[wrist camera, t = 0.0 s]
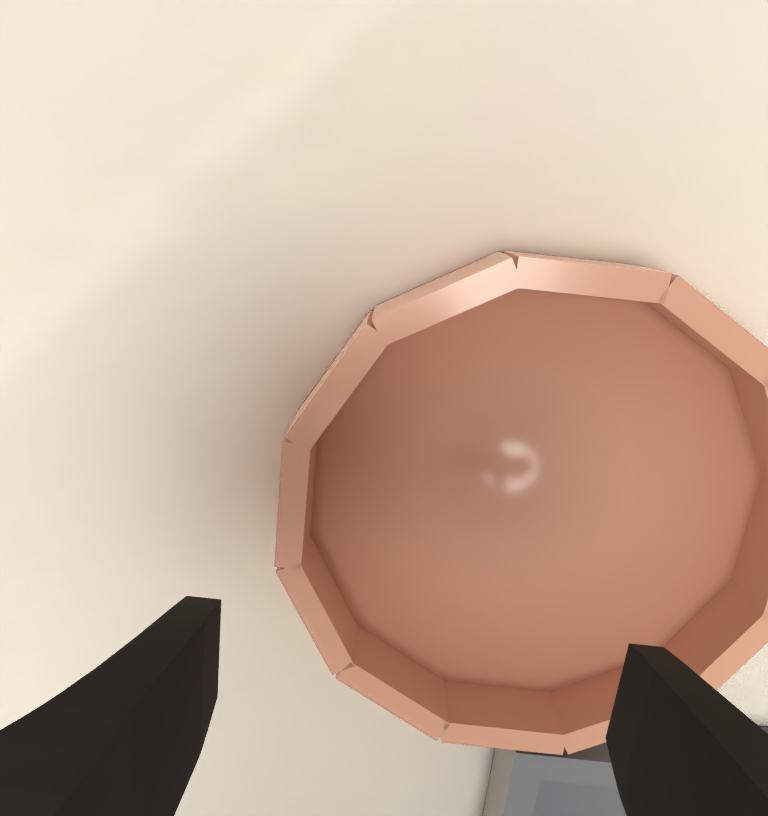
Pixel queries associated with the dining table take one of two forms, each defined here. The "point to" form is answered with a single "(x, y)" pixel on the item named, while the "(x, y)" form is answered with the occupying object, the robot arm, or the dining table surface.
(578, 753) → the parts tray
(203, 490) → the dining table surface
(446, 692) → the bowl
